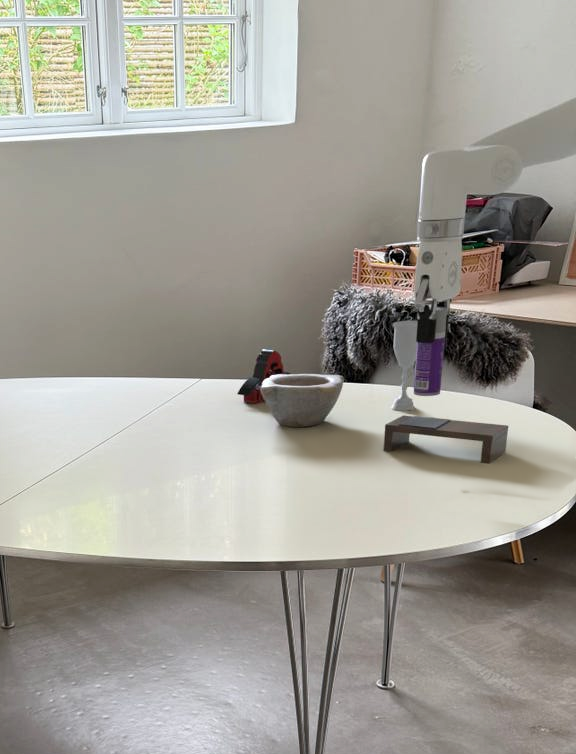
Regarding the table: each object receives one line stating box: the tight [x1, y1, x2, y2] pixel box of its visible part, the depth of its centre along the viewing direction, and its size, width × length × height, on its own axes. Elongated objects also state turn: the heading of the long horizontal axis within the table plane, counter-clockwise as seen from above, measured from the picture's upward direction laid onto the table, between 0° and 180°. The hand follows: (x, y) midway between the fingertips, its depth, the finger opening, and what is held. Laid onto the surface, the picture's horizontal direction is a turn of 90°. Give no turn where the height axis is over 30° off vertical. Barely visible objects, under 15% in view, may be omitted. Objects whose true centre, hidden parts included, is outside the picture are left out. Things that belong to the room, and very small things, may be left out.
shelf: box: [383, 414, 509, 464], centre depth 176 cm, size 20×8×5 cm, turn 50°
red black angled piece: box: [236, 349, 292, 404], centre depth 226 cm, size 18×4×11 cm, turn 129°
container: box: [413, 306, 448, 397], centre depth 172 cm, size 5×5×15 cm
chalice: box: [390, 320, 418, 412], centre depth 206 cm, size 7×7×18 cm
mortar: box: [261, 373, 345, 428], centre depth 203 cm, size 17×17×9 cm
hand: (431, 338), depth 171 cm, fingers closed on container, 4 cm apart
